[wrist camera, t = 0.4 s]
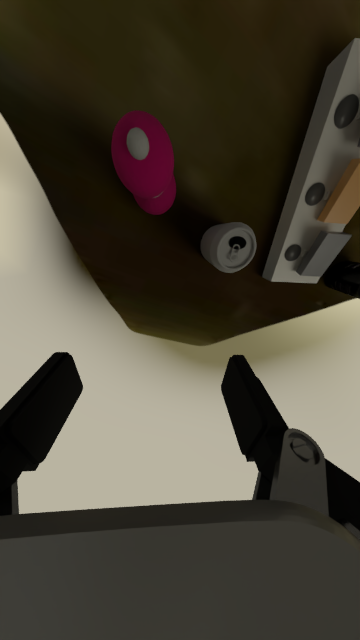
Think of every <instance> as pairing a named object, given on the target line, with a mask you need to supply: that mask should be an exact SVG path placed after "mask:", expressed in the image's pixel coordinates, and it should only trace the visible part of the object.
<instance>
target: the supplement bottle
mask: <svg viewBox="0 0 360 640" xmlns="http://www.w3.org/2000/svg"><path fill="white" fill-rule="evenodd" d="M325 283H326V285H327V286H328V287H329V288H332V289H334V290H337V291H340V292H342V293H345V294H348V295H351V296H353V297H356V298H359V299H360V263H358V262H352V261H343V262H340V263H338V264H336V265H335V266H333V267H332V268H331V269H330V270H329V272H328V273H327V275H326V278H325Z"/></svg>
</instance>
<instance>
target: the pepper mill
mask: <svg viewBox="0 0 360 640" xmlns="http://www.w3.org/2000/svg"><path fill="white" fill-rule="evenodd" d="M111 151H112V159H113V163H114V167H115V169H116V172H117V174H118V176H119V178H120V180H121V181H122V183H123V184H124V185H125V187H126V188H127V189H128V190H129V191H130V192H131V193H133V195H134V198H135V200H136V202H137V203H138V205H139V206H140V207H141V208H142V209H143V210H144V211H146V212H147V213H150V214H153V215H159V214H163V213H165V212H166V211H167V210H168V209H169V208H170V207H171V206H172V204H173V202H174V200H175V196H176V182H175V178H174V175H173V169H174V155H173V149H172V145H171V142H170V139H169V136H168V134H167V132H166V130H165V129H164V127H163V126H162V124H161V123H160V122H159V121H158V120H157V119H156V118H155V117H154V116H152V115H151V114H149V113H147V112H144V111H132V112H129V113H127V114H126V115H124V116H123V117H122V118H121V119H120V120H119V122H118V123H117V125H116V127H115V129H114V132H113V137H112V147H111Z"/></svg>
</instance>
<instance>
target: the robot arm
mask: <svg viewBox="0 0 360 640" xmlns="http://www.w3.org/2000/svg"><path fill="white" fill-rule="evenodd" d="M82 389H83V385H82V382H81V379H80V376H79V374H78V371H77V368H76V365H75V363H74V360H73V357H72V356H71V355H69V353H67V352H56V353H54V354H53V355H52V356H51V357H50V358H49V359H48V360H47V361H46V362H45V363H44V364H43V365H42V366H41V367H40V369H39V370H38V371H37V372H36V373H35V374H34V375H33V376H32V377H31V378H30V379H29V380H28V381H27V382H26V383H25V384H24V385H23V387H21V389H20V390H19V391H18V392H17V393H16V394H15V395H14V396H13V397H12V398H11V399H10V400H9V401H8V402H7V403H6V404H5V406H4V407H3V408H2V409H1V410H0V640H360V482H358V481H357V480H356V479H354V478H353V477H351V476H350V475H348V474H347V473H346V472H344V471H343V470H341V469H340V468H338V467H337V466H335V465H334V464H332V463H331V462H330V461H328V460H327V459H325V458H324V454H323V453H322V450H321V449H320V447H319V446H318V445H317V443H316V442H315V441H314V440H313V439H312V438H311V437H310V436H309V435H307V434H306V433H304V432H302V431H300V430H298V429H293V428H292V429H289V428H288V426H287V425H286V423H285V421H284V420H283V418H282V416H281V414H280V413H279V411H278V410H277V408H276V406H275V405H274V403H273V401H272V400H271V398H270V396H269V394H268V393H267V391H266V390H265V388H264V386H263V384H262V383H261V381H260V380H259V378H257V377H256V376H255V374H254V372H253V371H252V369H251V367H250V365H249V364H248V362H247V360H246V359H245V357H244V356H243V355H233V356H232V357H230V359H229V362H228V365H227V369H226V372H225V375H224V378H223V381H222V385H221V390H222V394H223V396H224V400H225V403H226V406H227V409H228V413H229V416H230V419H231V422H232V425H233V428H234V431H235V434H236V437H237V441H238V444H239V447H240V450H241V452H242V454H243V455H245V456H246V459H247V462H249V461H255V463H256V465H257V468H258V471H259V473H258V477H257V481H256V486H255V490H254V494H253V499H252V500H241V501H218V502H201V503H182V504H166V505H150V506H134V507H119V508H103V509H87V510H73V511H59V512H45V513H44V512H43V513H29V514H19V508H18V486H17V479H18V477H19V476H20V474H21V472H22V471H35V470H36V469H37V467H38V465H39V463H41V462H42V461H43V460H44V459H45V458H46V456H47V454H48V452H49V451H50V449H51V447H52V445H53V443H54V442H55V440H56V438H57V436H58V434H59V432H60V431H61V429H62V427H63V425H64V423H65V422H66V420H67V418H68V416H69V414H70V412H71V410H72V409H73V407H74V405H75V403H76V401H77V400H78V398H79V396H80V394H81V392H82Z"/></svg>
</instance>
